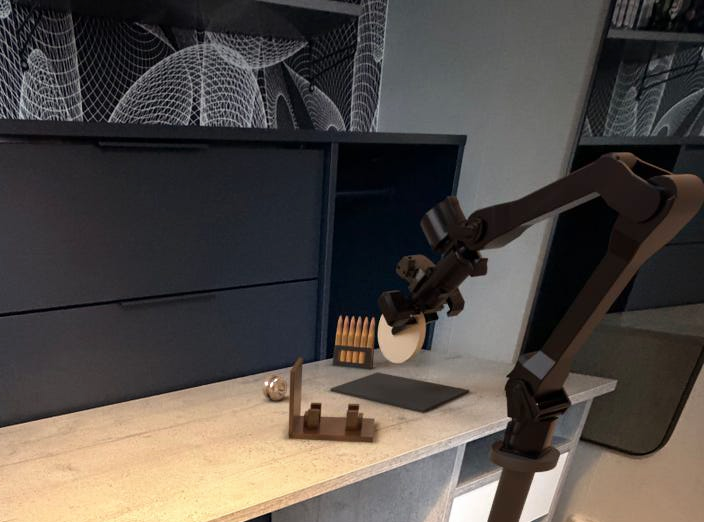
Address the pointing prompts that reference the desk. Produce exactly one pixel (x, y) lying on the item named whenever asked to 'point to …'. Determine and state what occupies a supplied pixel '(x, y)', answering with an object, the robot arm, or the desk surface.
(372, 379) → the mat
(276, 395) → the metal grooved wheel
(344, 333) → the ammunition clip
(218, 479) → the desk surface
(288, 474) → the desk surface
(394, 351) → the plate
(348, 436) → the stand
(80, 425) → the desk surface
